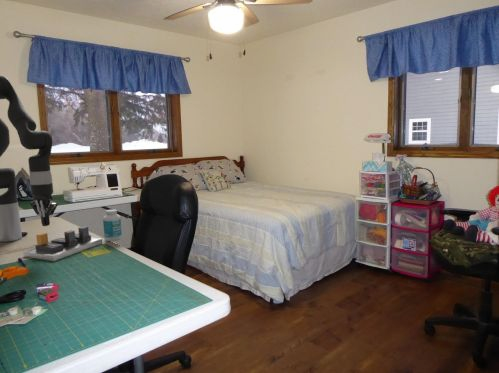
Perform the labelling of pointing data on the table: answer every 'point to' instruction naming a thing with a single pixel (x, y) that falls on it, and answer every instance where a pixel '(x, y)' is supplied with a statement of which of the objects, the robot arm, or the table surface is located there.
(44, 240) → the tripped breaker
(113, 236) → the pill bottle
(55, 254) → the panel
